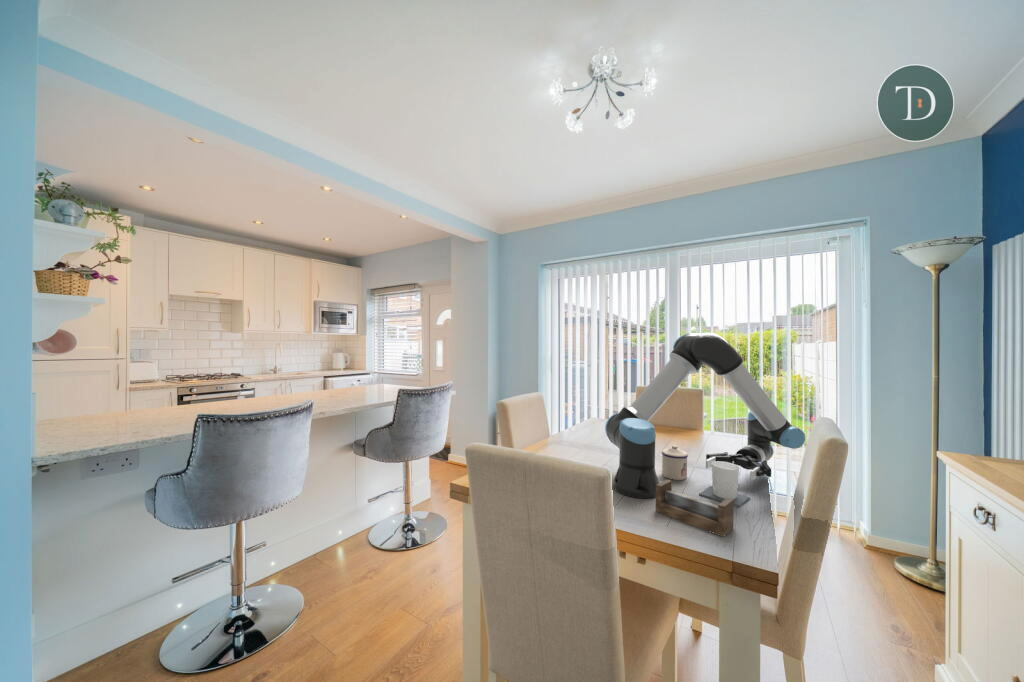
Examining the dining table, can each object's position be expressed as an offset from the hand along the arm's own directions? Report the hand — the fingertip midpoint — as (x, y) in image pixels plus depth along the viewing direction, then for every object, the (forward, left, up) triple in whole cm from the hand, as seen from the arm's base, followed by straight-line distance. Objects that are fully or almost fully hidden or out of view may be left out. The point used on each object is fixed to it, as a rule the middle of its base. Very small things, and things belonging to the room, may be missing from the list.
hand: (728, 469), depth 125 cm
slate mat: (0, -2, -9) cm, 9 cm away
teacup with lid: (-20, +5, -9) cm, 23 cm away
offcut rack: (0, -26, -9) cm, 27 cm away
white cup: (0, -2, -8) cm, 9 cm away
